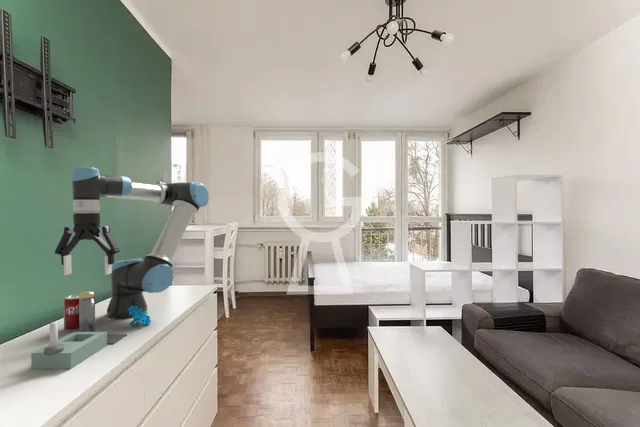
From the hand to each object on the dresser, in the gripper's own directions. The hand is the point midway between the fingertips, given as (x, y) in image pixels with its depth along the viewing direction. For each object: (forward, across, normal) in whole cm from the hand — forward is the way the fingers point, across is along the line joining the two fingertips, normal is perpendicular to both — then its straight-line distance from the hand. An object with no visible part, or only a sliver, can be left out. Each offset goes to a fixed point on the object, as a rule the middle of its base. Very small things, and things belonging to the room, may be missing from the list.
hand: (88, 274), depth 114 cm
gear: (+23, +10, +14) cm, 29 cm away
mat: (+22, +7, -1) cm, 23 cm away
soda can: (+23, -12, +10) cm, 28 cm away
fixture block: (+22, +4, -14) cm, 27 cm away
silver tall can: (+22, -1, 0) cm, 22 cm away
